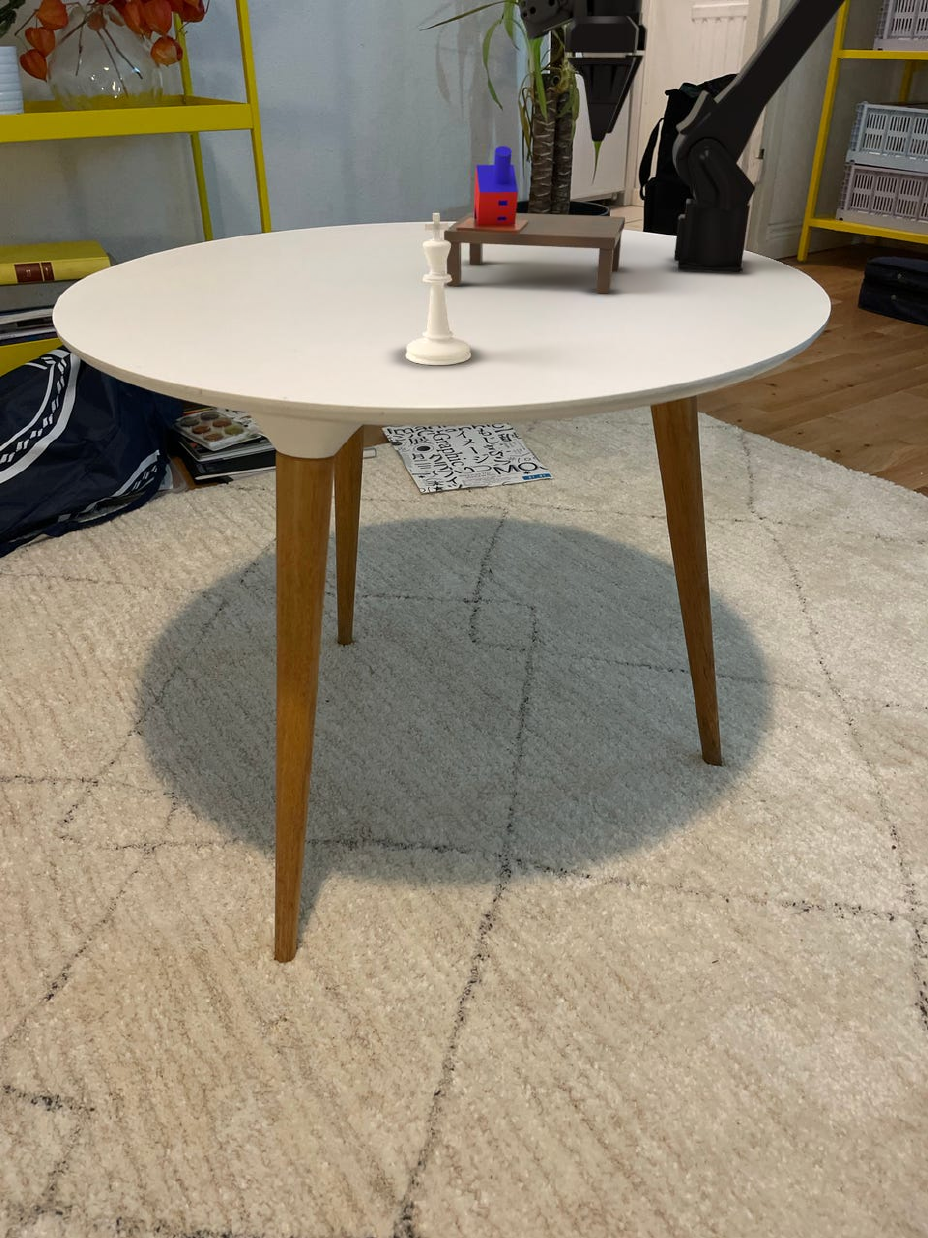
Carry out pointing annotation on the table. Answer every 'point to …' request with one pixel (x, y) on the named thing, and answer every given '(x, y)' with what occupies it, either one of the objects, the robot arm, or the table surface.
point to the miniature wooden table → (539, 239)
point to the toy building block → (496, 191)
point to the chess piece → (437, 308)
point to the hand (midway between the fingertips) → (602, 136)
